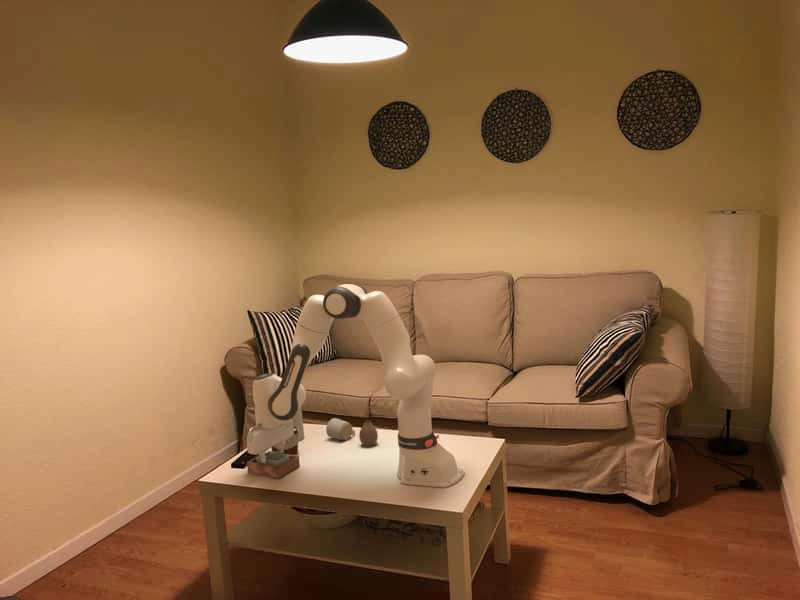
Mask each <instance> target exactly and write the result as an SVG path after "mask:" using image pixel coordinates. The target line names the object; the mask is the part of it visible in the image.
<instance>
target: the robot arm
mask: <svg viewBox="0 0 800 600" xmlns="http://www.w3.org/2000/svg"><path fill="white" fill-rule="evenodd" d="M356 317H360V318H361V319H362V320H363V322H364V323H365V325H366V326H367V329H368V331H369V334H370V336H371V337H372V339H373V340H374V343H375V345H376V347H377V349H378V351H379V354H380V359H381V361H382V364H383V370H384V375H385V379H384V388H385V390H386V392H387V394H388V395H389V396H390V397H391V398H393V399H395V400H398V401H399V403H398V407H397V410H396V415H397V430H398V432H397V445H398V448H399V453H398V455H399V457H398V467H397V472H396V476H397V478H399V479H400V482H401V484H402V485H403V484H404V485H412V486H422V487H423V486H424V487H435V488H448V487H451V486H453V485H454V484H456V483H458V482H459V481H460V480H461V479H463V477H464V476H465V470H464V469H463V468H461V467H458V466H457V462H456V457H455V456H454V454H452V453H451V452H450V451H448V450H447V449H446V448H445V447H443V446H442V445H441V444H440V443H439V442H438V439H439V438H440V433H439V434H437V435H435V433H434V430H433V428H432V425H433V424H432V411H431V410H432V409H431V408H432V397H433V390H434V389H433V387H434V378H435V375H436V371H437V369H436V364H435V362H434V361H435V360H433V359H432V358H431V357H430V356H428V355H426V354H415V355H413V352H412V348H411V337H410V333H409V332H408V330H407V328H406V326H405V324H404V323H403V320H402V318H401V317H400V314H399V312H398V310H397V309H396V308H395V305H394V304H393V303H392V301H391V300H390V299H389V297H388V296H387V295H386V293H385V292H383V291H381V290H375V291H370V292H367V290H366V289H365V288H364V287H363V286H362V285H360V284H357V283H349V284H348V283H345V284H340V285H337V286H335V287H331V288H330V289H329V290H328V291H327V292H326V293H325V295H323V294H314V295H311V296H309V297H308V298H307V300H306V301H305V303H304V306H303V307H302V310H301V312H300V314H299V317H298V320H297V323H296V326H295V331H294V334H293V339H292V345H291V348H290V349H291V350H290V353H289V358H288V361H287V364H286V366H285V370H284V372H283V375H282V377H280V376H278V375H277V374H275V373H274V372H267V373H263V374H260V375H258V376H257V377H256V378H255V379H254V380H253V382H252V397H253V403H254V405H255V411H254V417H255V425H254V426H252V427H250V428H249V430H248V432H247V438H246V448H247V449H246V450H247V453H248V454H250V455H254V456H255V455H258V456H260V457H261V461H262V462H264V463H265V462H267V461H268V456H265V454H264V453H266V450H268V449H270V448H271V447H272V446H274V445H276V444H278V443H279V447H278V449H277V453H279V454H282V453H284V450H283V448H284V445H285V440H286V439H288V438H290V437H292V436H293V433H294V429H293V422H292V420H291V418H293V417H294V416H295V414H296V412H297V411H298V409H299V408H300V407H301V408H302V405H303V404H304V403H305V402H306V399H307V396H308V395H307V394H308V393H307V389H306V388H305V386H304V385H303V384H302V381H303V379H304V378H303V377H304V375H305V372H306V370H307V368H308V366H309V365H310V363H311V361H312V360H313V359H314V358H315V357H316V356H317V355H318V354H319V352H320V351H321V350H322V348H323V346H324V345H325V343H326V340H327V338H328V336H329V334H330V333H329V332H330V329H331V326H332V324H333V321H334V320H335V319H337V320H345V319H346V320H347V319H350V318H356Z"/></svg>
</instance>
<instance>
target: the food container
mask: <svg viewBox="0 0 800 600" xmlns="http://www.w3.org/2000/svg"><path fill="white" fill-rule="evenodd" d="M293 429H294V433H293V436H292V437H290V438H288V439H286V440H285V445H284V448H283V450H284V454H289V455H295V456H299V441H298V433H299V434H300V432H299V429H298V427H297V426H295V425H293ZM278 447H279V443H278V444H276V445H274V446H272V447H270V448H271V451H273V452H277V449H278Z"/></svg>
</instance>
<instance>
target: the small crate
mask: <svg viewBox="0 0 800 600" xmlns="http://www.w3.org/2000/svg"><path fill="white" fill-rule="evenodd" d="M264 454H265V456H268V461H267V462H265V463H264V462H262V461H261V457H260V456H259V455H258V456H256V457H255V458H256V461H257V463H259V464H264V465H269V466H274V467H279V466H281V465H282V464H284V463H286V462H288V461H290V459H289V455H285V454H279V453H274V452H268V451H265V453H264Z"/></svg>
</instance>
